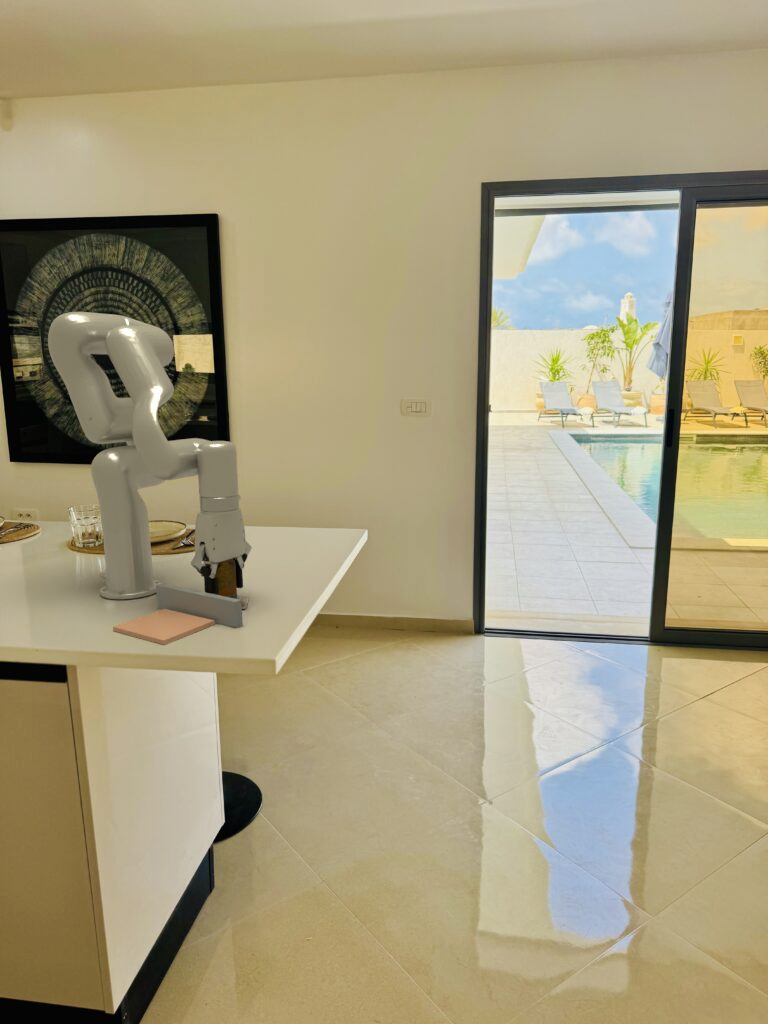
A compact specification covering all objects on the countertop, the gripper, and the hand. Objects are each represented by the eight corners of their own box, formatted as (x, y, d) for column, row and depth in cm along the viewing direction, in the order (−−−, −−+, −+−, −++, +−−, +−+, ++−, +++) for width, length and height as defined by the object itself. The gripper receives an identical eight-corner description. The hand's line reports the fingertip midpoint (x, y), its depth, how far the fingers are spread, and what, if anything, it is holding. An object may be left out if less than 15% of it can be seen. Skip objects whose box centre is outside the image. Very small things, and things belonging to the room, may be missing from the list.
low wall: (157, 609, 145) (155, 585, 144) (163, 607, 147) (161, 583, 146) (236, 627, 134) (235, 602, 133) (242, 625, 135) (241, 599, 134)
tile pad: (113, 630, 133) (112, 626, 133) (164, 612, 143) (164, 608, 143) (163, 644, 126) (163, 640, 126) (214, 624, 136) (214, 620, 135)
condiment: (208, 600, 150) (204, 544, 148) (249, 598, 151) (246, 543, 148) (202, 611, 143) (199, 553, 140) (245, 610, 144) (243, 551, 141)
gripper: (237, 496, 151) (241, 578, 155) (172, 509, 137) (178, 599, 141) (263, 499, 147) (267, 583, 151) (199, 513, 133) (205, 606, 137)
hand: (224, 590), depth 146 cm, fingers closed on condiment, 6 cm apart
